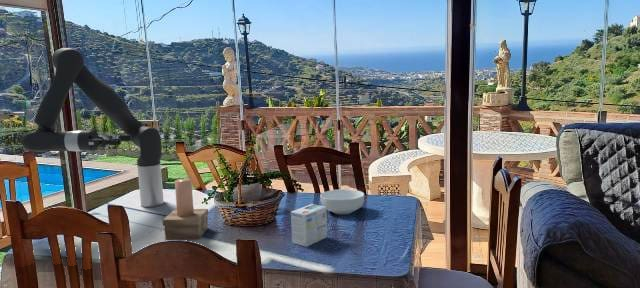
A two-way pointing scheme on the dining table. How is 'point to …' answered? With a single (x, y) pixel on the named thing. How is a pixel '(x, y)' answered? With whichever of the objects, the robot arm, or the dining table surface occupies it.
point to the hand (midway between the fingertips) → (126, 139)
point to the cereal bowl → (342, 200)
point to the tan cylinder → (184, 197)
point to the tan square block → (186, 225)
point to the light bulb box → (309, 224)
